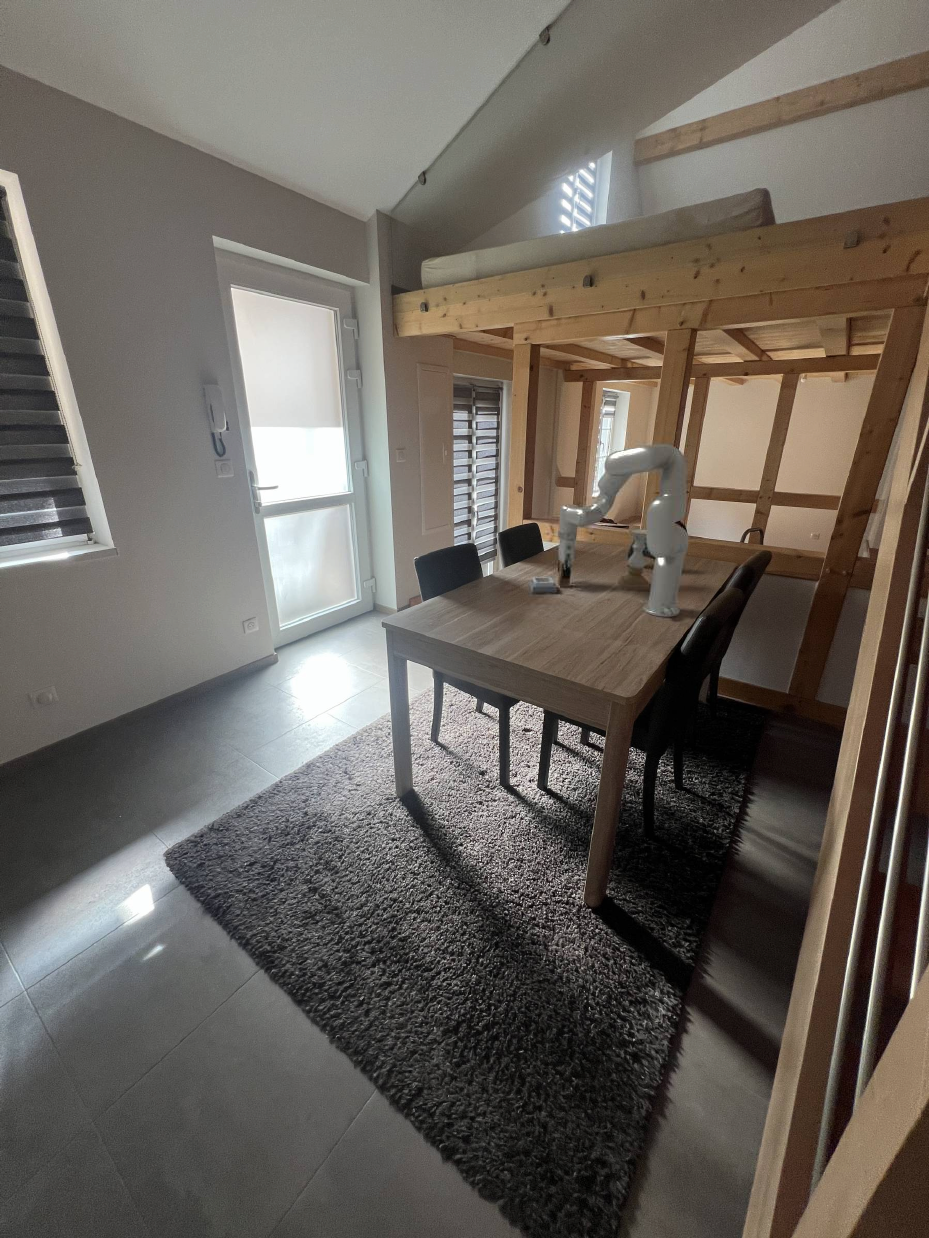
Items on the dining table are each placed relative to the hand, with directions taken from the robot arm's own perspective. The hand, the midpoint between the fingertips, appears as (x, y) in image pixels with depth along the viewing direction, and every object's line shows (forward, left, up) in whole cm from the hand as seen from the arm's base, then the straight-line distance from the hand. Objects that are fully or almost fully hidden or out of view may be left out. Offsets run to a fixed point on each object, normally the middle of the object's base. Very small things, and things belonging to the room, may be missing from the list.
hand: (563, 574), depth 211 cm
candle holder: (-1, -30, -5) cm, 31 cm away
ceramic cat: (+24, -45, -5) cm, 51 cm away
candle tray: (-5, +10, -5) cm, 12 cm away
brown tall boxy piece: (0, 0, -5) cm, 5 cm away
